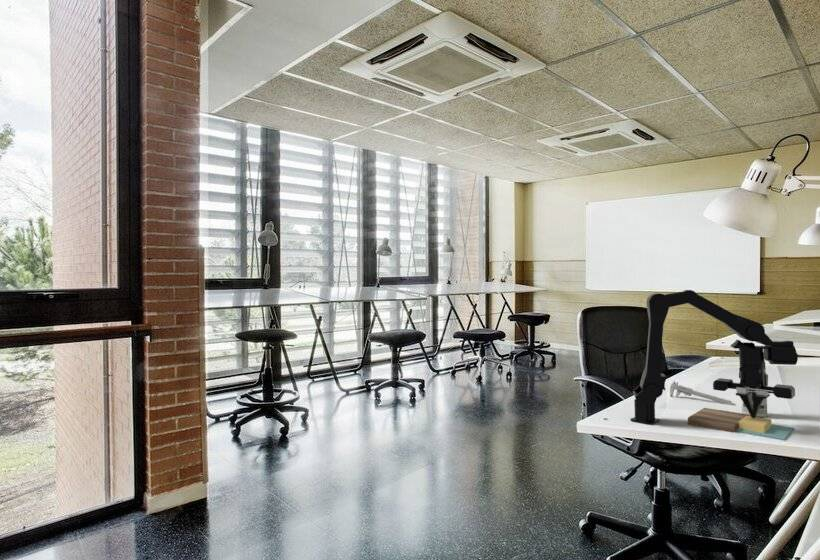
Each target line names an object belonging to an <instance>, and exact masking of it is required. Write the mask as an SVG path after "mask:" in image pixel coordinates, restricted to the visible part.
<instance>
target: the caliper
mask: <svg viewBox="0 0 820 560" xmlns="http://www.w3.org/2000/svg"><path fill="white" fill-rule="evenodd" d="M678 384H679V382H678V381H677V382H676V381H675V380H674V381H673V383H671V384H670V387H669V396H670V397H671V398H672V397H673V395H674V393H675V392H674V391H676V393H675V397H676V399H677V398H679V396H680V394H681V393H682V394H684V396H689V397H691V396H692V395H693V396H696V397H700V398H703V399H706V400H709V401H713V402H717V403H720V404H722V405H723V404H724V405H729V406H730V405H732V406H735V405H736V403H734V402H732V400H730V399H725V398H723V397H722V398H721V397H718V396H715V395H711V394H707V393H705V392H700V391H697V390H694V389H693V388H691V387H687V386H684V385H683V386H682V385H680V384H679V385H678Z"/></svg>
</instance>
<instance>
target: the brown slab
mask: <svg viewBox="0 0 820 560" xmlns="http://www.w3.org/2000/svg"><path fill="white" fill-rule="evenodd" d="M745 416H749V414H743V413H742V412H735V411H729V410H722V409H717V408H716V409H715V408H709V407H708V408H707V407H703V408H702V409H700V410H698V411H697V412H695V413H693V414H692V415H690V416H688V417H687V425H690V426H695V427H701V428H707V429H713V430H718V431H720V430H721V431H723V430H725V431H724V432H729V431H730V432H729V433H736V432H738V429H739V423H738V422H739V421H740V420H741V419H743V418H744V417H745Z"/></svg>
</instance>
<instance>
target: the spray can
mask: <svg viewBox="0 0 820 560" xmlns="http://www.w3.org/2000/svg"><path fill="white" fill-rule="evenodd" d="M763 361H764V371H765V373H766V374H767V372H766V370H767V369H766V360H765V359H764V354H763ZM748 388H749V387H748ZM751 392H752V401H753V396H754V395H755V394H756V393H755V391H751ZM740 399H741V398H740ZM740 401H741V413H743V414H749V416H751V415H750V413H749V411H748V409H747V407H746V405H745V404H744V402H743V401H742V399H741V400H740ZM756 417H759V418H767V417H768V398H766V399H763V401H762V403H761V405H760V407H759V410H758V413H757V415H756Z"/></svg>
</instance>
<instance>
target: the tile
mask: <svg viewBox="0 0 820 560" xmlns="http://www.w3.org/2000/svg"><path fill="white" fill-rule="evenodd" d="M738 423H739V429H743V430H749V431H755V432H761V433H765V432H766V431H767V430H768V429H769V428H770V427H771V426H772V424H773V422H772V419H771V418H767V417H762V418H759V417H756V418H752V417H751V416H745V417H744V418H743V419H741V420H740V421H739V422H738Z"/></svg>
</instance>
